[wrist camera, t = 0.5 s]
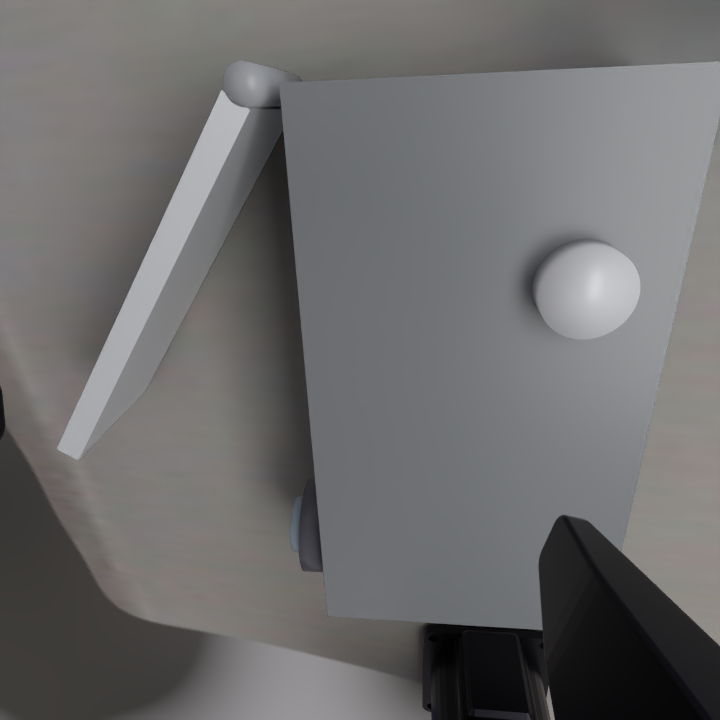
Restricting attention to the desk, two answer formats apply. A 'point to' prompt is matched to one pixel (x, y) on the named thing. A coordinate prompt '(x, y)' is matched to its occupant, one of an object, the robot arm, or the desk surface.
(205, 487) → the desk surface
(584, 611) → the robot arm
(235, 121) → the door
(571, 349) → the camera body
